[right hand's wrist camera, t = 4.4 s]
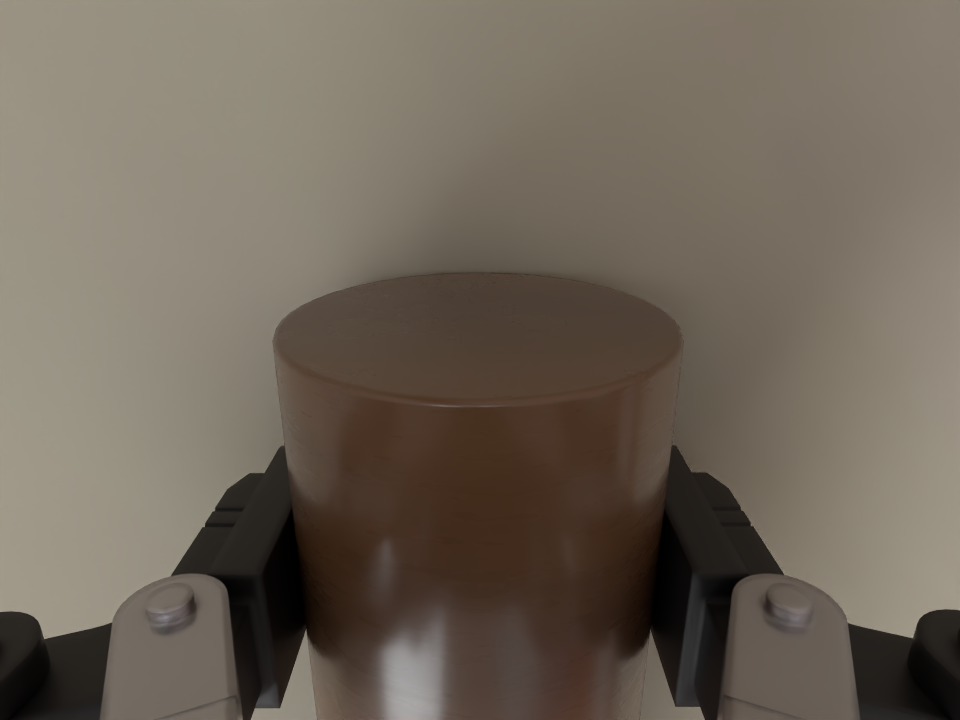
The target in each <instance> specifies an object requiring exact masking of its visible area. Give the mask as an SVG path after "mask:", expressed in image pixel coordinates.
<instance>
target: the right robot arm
mask: <svg viewBox="0 0 960 720" xmlns="http://www.w3.org/2000/svg"><path fill="white" fill-rule="evenodd" d="M650 629H651V632H652V635H653V638H654V642H655V645H656V648H657V651H658V654H659V657H660V660H661V663H662V666H663V669H664V673H665V676H666V679H667V682H668V685H669V688H670V691H671V694H672V697H673V700H674V704H675V707H701V710H702V713H703V715H704V718H705V720H960V611H959V610H947V609H945V610H936V611H932V612H929V613H927V614H925V615H923V616H922V617H921V618H920V619H919V622H918V624H917V627H916V630H915V634H914V637H913V638H908V637H904V636H899V635H895V634H890V633H886V632H882V631H877V630H873V629H868V628H864V627H860V626H856V625H852V624H849V623H848V622H847V618H846V616H845V614H844V612H843V610H842V609H841V607H840V606H839V605H838V604H837V603H836V602H835V601H834V600H833V599H832V598H831V597H830V596H829V595H827V594H826V593H825V592H823V591H822V590H820V589H818V588H817V587H815V586H813V585H811V584H809V583H807V582H804V581H802V580H799V579H796V578H793V577H789V576H785V575H784V574H783V572H782V571H781V569H780V567H779V566H778V564H777V563H776V561H775V560H774V558H773V557H772V555H771V553H770V552H769V550H768V549H767V547H766V546H765V544H764V543H763V541H762V539H761V538H760V536H759V535H758V533H757V532H756V530H755V529H754V527H753V526H751V525H750V521H749V519H748V518H747V516H746V515H745V513H744V512H743V511H741V507H740V505H739V504H738V502H737V501H736V499H735V498H734V496H733V494H732V493H731V491H730V490H729V488H727V487H726V486H724V485H723V484H722V483H720V482H719V481H718V480H716V479H715V478H713V477H712V476H711V475H709V474H708V473H691V471H690V469H689V467H688V466H687V464H686V462H685V460H684V459H683V457H682V455H681V453H680V452H679V450H678V448H677V447H676V446H675V445H672V447H671V455H670V464H669V472H668V481H667V490H666V498H665V507H664V515H663V524H662V533H661V541H660V550H659V558H658V567H657V575H656V584H655V593H654V601H653V610H652V618H651V627H650ZM305 631H306V621H305V613H304V604H303V596H302V587H301V579H300V570H299V562H298V553H297V545H296V536H295V528H294V519H293V511H292V502H291V494H290V486H289V477H288V469H287V460H286V452H285V446H281V447H280V448H279V449H278V451H277V453H276V454H275V456H274V458H273V460H272V461H271V463H270V465H269V467H268V468H267V470H266V472H265V473H249V474H248V475H247V476H245V477H244V478H242V479H241V480H240V481H238V482H237V483H236V484H234V485H233V486H231V487H230V488H229V489H227V491H226V492H225V494H224V495H223V497H222V498H221V500H220V501H219V503H218V504H217V506H216V508H215V512H212V514H211V515H210V517H209V518H208V520H207V521H206V523H205V527H202V529H201V530H200V532H199V534H198V535H197V537H196V538H195V540H194V541H193V543H192V544H191V546H190V547H189V549H188V550H187V552H186V553H185V555H184V557H183V558H182V560H181V561H180V563H179V564H178V566H177V567H176V569H175V570H174V572H173V573H172V575H171V576H170V577H167V578H164V579H161V580H158V581H156V582H153V583H151V584H149V585H147V586H145V587H143V588H142V589H140V590H138V591H137V592H135V593H134V594H133V595H131V596H130V597H129V598H128V599H127V600H126V601H125V602H124V603H123V604H122V605H121V606H120V607H119V609H118V610H117V612H116V614H115V616H114V618H113V622H112V623H109V624H106V625H104V626H100V627H96V628H92V629H88V630H84V631H79V632H75V633H70V634H66V635H61V636H57V637H52V638H48V639H44V637H43V634H42V630H41V627H40V625H39V622H38V621H37V620H36V619H35V618H34V617H33V616H31V615H29V614H26V613H22V612H0V720H251V717H252V714H253V712H254V709H255V708H280V706H281V703H282V700H283V697H284V694H285V691H286V688H287V685H288V682H289V679H290V676H291V673H292V670H293V667H294V664H295V661H296V658H297V655H298V652H299V649H300V646H301V643H302V640H303V637H304V634H305Z"/></svg>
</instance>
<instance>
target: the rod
mask: <svg viewBox="0 0 960 720" xmlns="http://www.w3.org/2000/svg"><path fill="white" fill-rule="evenodd" d="M683 343H684V341H683V337H682V333H681V330H680V328H679V326H678V325H677V323H676V322H675V320H674V319H672V318H671V317H670V316H669V315H668V314H667V313H666V312H664V311H662V310H661V309H659V308H658V307H656V306H654V305H652V304H650V303H648V302H646V301H644V300H642V299H639V298H637V297H634V296H631V295H629V294H626V293H623V292H620V291H617V290H613V289H610V288H606V287H602V286H598V285H594V284H589V283H584V282H579V281H573V280H567V279H560V278H553V277H544V276H534V275H522V274H503V273H454V274H435V275H423V276H413V277H404V278H397V279H390V280H384V281H378V282H373V283H368V284H363V285H359V286H355V287H351V288H347V289H344V290H340V291H337V292H334V293H331V294H328V295H325V296H323V297H320V298H317V299H315V300H313V301H310V302H308V303H306V304H304V305H302V306H300V307H299V308H297V309H296V310H294V311H292V312H291V313H290V314H288V315H287V316H286V317H285V318H284V319H283V320H282V321H281V322H280V324H279V325H278V327H277V328H276V331H275V334H274V338H273V350H274V358H275V367H276V375H277V384H278V392H279V401H280V409H281V418H282V426H283V435H284V443H285V452H286V460H287V469H288V477H289V486H290V494H291V502H292V511H293V519H294V528H295V536H296V545H297V553H298V562H299V570H300V579H301V587H302V596H303V604H304V613H305V621H306V630H307V638H308V647H309V655H310V664H311V672H312V680H313V689H314V697H315V706H316V714H317V720H640V713H641V704H642V696H643V687H644V679H645V670H646V661H647V653H648V644H649V636H650V627H651V618H652V610H653V601H654V593H655V584H656V575H657V567H658V558H659V550H660V541H661V533H662V524H663V515H664V507H665V498H666V490H667V481H668V472H669V464H670V455H671V447H672V438H673V429H674V421H675V412H676V404H677V395H678V386H679V378H680V369H681V361H682V352H683Z"/></svg>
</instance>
